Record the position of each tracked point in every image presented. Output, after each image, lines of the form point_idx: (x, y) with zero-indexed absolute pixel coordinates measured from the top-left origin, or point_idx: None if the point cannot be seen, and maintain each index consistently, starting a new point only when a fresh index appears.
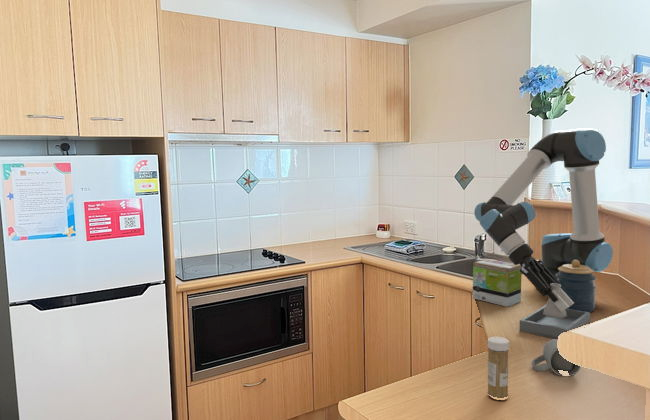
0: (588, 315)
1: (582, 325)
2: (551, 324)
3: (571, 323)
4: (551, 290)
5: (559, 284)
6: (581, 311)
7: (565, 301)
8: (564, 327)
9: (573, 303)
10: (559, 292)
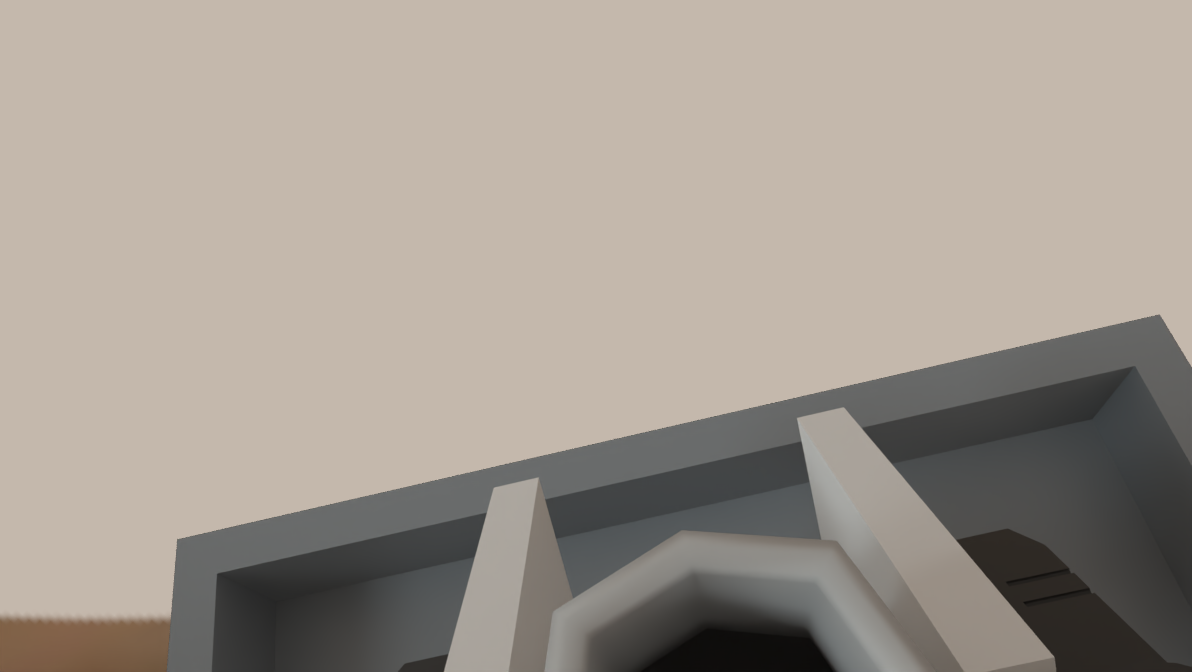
0: (262, 530)
1: None
2: None
3: None
4: (1148, 664)
5: (579, 654)
6: (188, 649)
7: None
8: None
9: (530, 480)
10: (726, 620)
